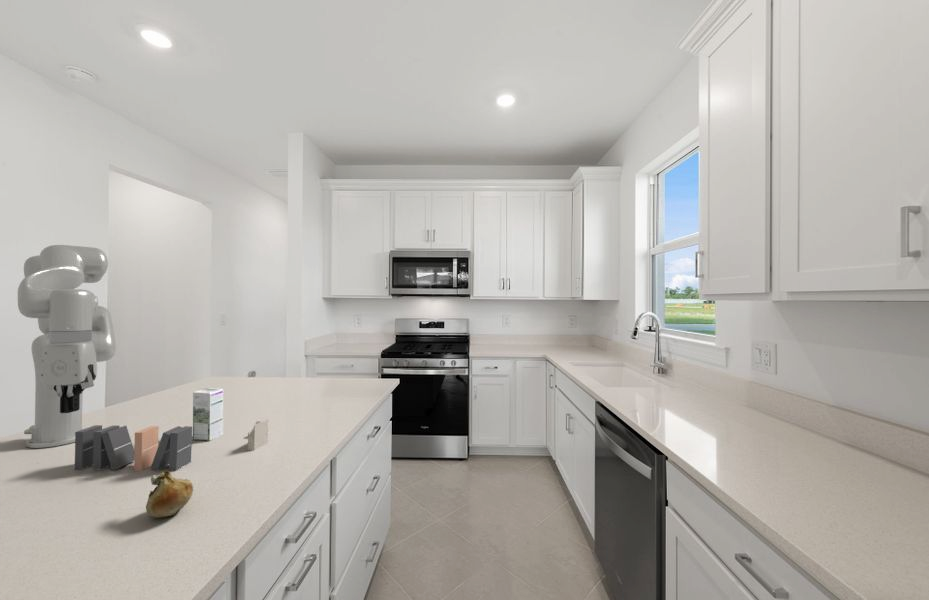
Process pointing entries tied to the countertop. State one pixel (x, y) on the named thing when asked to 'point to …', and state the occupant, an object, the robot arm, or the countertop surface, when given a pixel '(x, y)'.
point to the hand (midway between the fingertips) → (69, 411)
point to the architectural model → (258, 435)
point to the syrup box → (207, 414)
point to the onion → (168, 495)
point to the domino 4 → (145, 447)
